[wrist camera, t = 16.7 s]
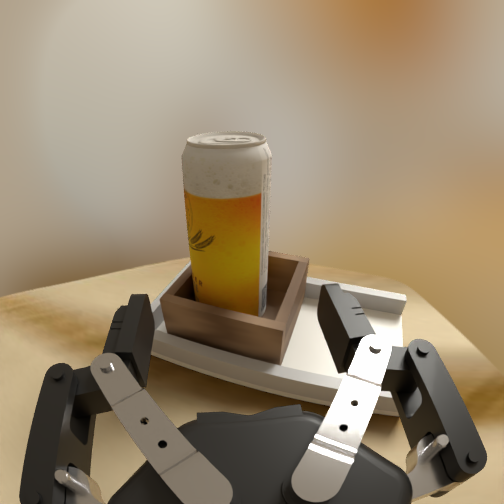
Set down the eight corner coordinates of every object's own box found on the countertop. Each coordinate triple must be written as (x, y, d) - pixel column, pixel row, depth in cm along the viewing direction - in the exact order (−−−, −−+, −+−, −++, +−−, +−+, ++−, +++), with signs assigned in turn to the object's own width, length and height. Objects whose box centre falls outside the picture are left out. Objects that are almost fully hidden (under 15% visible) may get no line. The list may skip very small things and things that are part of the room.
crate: (169, 340, 25) (159, 298, 23) (214, 279, 33) (212, 240, 31) (278, 372, 23) (283, 330, 20) (304, 297, 30) (309, 258, 28)
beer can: (206, 287, 30) (195, 131, 23) (268, 292, 30) (274, 131, 22) (189, 331, 25) (167, 146, 17) (262, 338, 25) (269, 147, 17)
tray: (136, 348, 25) (129, 328, 24) (198, 273, 35) (196, 253, 34) (399, 416, 19) (412, 398, 18) (399, 312, 29) (406, 293, 28)
